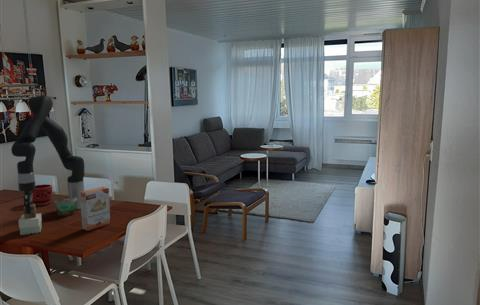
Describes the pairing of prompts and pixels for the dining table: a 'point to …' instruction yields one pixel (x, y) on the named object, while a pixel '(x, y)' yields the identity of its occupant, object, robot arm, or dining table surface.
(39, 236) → the dining table surface
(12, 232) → the dining table surface
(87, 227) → the cracker box
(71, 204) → the food container
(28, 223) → the tower top
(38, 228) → the tower base
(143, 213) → the dining table surface
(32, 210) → the walnut block
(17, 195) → the dining table surface
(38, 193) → the plant pot
